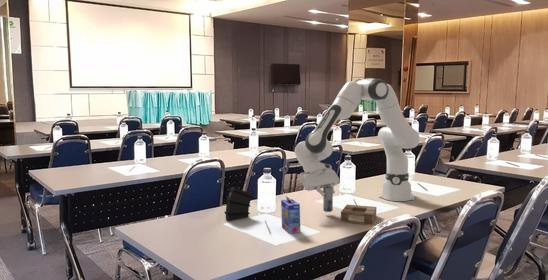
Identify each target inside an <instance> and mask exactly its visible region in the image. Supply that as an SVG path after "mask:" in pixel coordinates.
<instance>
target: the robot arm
mask: <svg viewBox="0 0 548 280" xmlns="http://www.w3.org/2000/svg"><path fill="white" fill-rule="evenodd" d="M361 100H363V101H374V102H375V105H376V107H377V111H378V114H379V117H380V119H381V122H382V123H383V124H384V125H385V126H383V127H381V128H380V129H379V131H378V133H377V139H378V142H379V143H381V146H382V148H383V150H384V152H385V156H386V172H385V180H384V181H383V182H382V189H381V190H382V191H381V193H380V194H379V195H378V198H381V199H384V200H387V201H392V202H407V201H414V200H415V199H416V198H415V196H414V195H413V193H412V184H411V183H410V181H409V177H410V176H409V175H410V174H409V159H408V157H407V155H406V154H405V153H404V150H403V149H405V150H408V149H414V148H416V147H417V146H418V145H419V143H420V138H421V137H420V133H419V132H418V131H417V130H416V129H414V128H413V127H412V126H411V125H410V124H409V122H408V121H407V119H406V118H405V116H404V114H403V112H402V108H401V106H400V103H399V99H398V97H397V95H396V92H395V90H394V88H393V87H392V85H391V84H388V83H386V81H384V80H383V79H380V78H360V79H359V78H358V79H356V80H355V81H352V80H351V81H347V82H346V83H345V84H344V85H343V86H342V88H341V89H340V90H339V92H338V93H337V96H336V97H335V99H334V100H333V102H332V104H331V106H330V107H329V108H328V109H327V110H326V111H325V113H324V115H322V117H321V118H320V119H321V120H320V121H319V122H318V124H317V125H316V127H315V128H314V129H313V130H312V131H311V132H310V133H308V135H307V136H306V137H305V140H303V141H300V142H299V143H297V144H296V146H295V148H294V155H295V156H296V157H295V158H296V159H297V161H298V163H299V164H300V166H302V169H303V170H304V172H301V173H300V174H299V177H300V180H301V182H302V185H303V187H304V189H305V191H307V192H309V191H316V192H317V193H319V194H320V196H322V197H323V196H325V195H326V193H325V191H323V187H332V188H333V195H334V194H335V193H336V191H335V189H334V188H335V186H337V185H338V184H339V183H340V182H341V181H340V177H339V176H338V174H337V173H336V171H335V170H334V169H332V165H331V164H328V163H323V162H321V161H323V160H326V159H327V158H329V157H331V155H332V154H333V151H334V148H333V143H331V141H329V140H328V134H330V131H331V129H332V127H333V126H334V125H335V123H337V121H339V120H347V119H349V118H351V116H352V115H353V114H354V112H355V111H356V108H357V106H358V105H359V103H360V101H361Z"/></svg>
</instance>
